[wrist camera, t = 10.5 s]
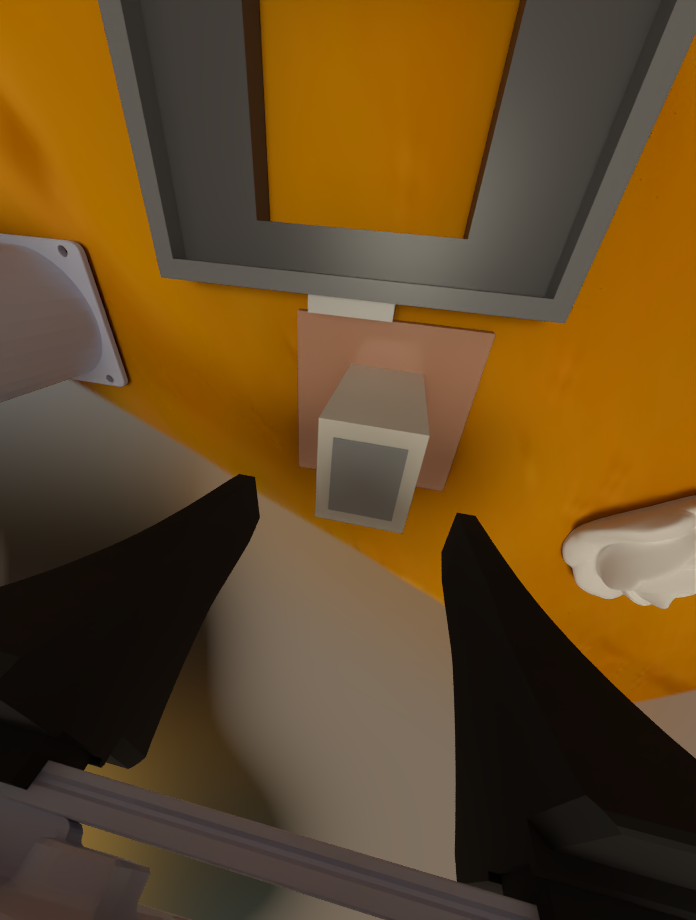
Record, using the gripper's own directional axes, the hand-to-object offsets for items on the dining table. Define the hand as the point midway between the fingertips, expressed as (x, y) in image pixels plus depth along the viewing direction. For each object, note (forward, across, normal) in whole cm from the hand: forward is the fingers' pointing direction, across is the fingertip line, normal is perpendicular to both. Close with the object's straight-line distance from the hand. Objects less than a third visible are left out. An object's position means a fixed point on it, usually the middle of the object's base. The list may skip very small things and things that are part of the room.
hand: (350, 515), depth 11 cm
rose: (+10, -19, +6) cm, 23 cm away
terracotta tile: (+9, 0, 0) cm, 9 cm away
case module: (+9, 0, 0) cm, 9 cm away
